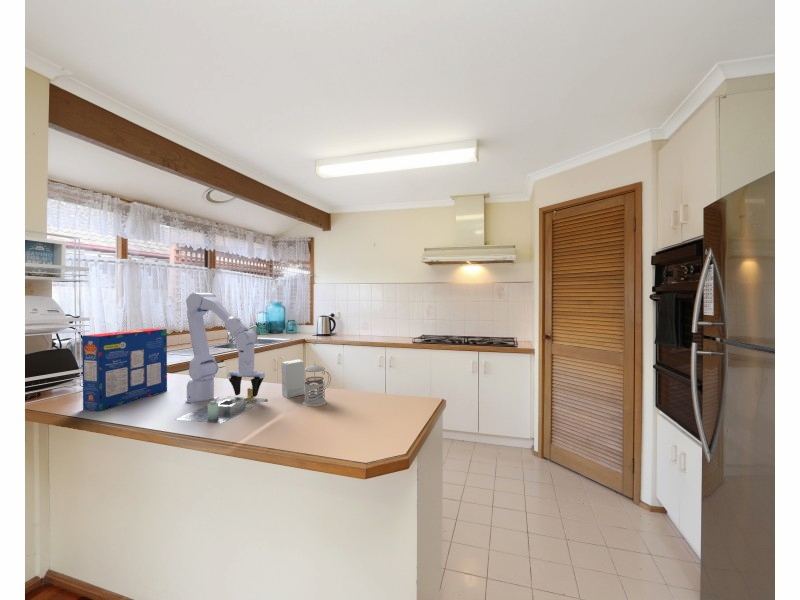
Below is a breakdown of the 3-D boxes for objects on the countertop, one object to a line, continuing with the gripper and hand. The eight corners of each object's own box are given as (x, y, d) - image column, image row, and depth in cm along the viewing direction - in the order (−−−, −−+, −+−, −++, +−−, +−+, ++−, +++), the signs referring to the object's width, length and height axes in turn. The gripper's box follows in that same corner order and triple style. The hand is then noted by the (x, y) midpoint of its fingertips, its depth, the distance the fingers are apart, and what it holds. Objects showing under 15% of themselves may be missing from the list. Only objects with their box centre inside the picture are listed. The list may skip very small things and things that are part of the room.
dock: (174, 422, 116) (174, 410, 116) (228, 398, 143) (228, 389, 143) (221, 426, 113) (221, 414, 113) (267, 401, 140) (267, 391, 140)
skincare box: (299, 391, 153) (299, 358, 153) (305, 395, 149) (305, 360, 148) (280, 395, 148) (280, 361, 148) (286, 398, 143) (286, 363, 143)
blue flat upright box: (152, 389, 156) (152, 328, 155) (167, 391, 154) (166, 328, 153) (83, 410, 128) (82, 335, 128) (99, 411, 126) (98, 336, 126)
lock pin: (235, 404, 131) (235, 393, 131) (251, 396, 141) (251, 386, 141) (240, 404, 130) (240, 394, 130) (256, 396, 140) (256, 387, 140)
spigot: (205, 419, 116) (205, 402, 116) (212, 416, 119) (212, 399, 119) (213, 420, 116) (213, 403, 116) (220, 417, 119) (220, 400, 119)
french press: (298, 401, 139) (298, 340, 139) (324, 396, 146) (325, 338, 146) (307, 408, 132) (307, 343, 131) (335, 402, 138) (335, 340, 138)
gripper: (223, 362, 133) (223, 397, 133) (257, 363, 130) (257, 399, 130) (234, 358, 140) (234, 392, 140) (267, 360, 137) (267, 394, 137)
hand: (246, 395), depth 136 cm, fingers open, 7 cm apart
